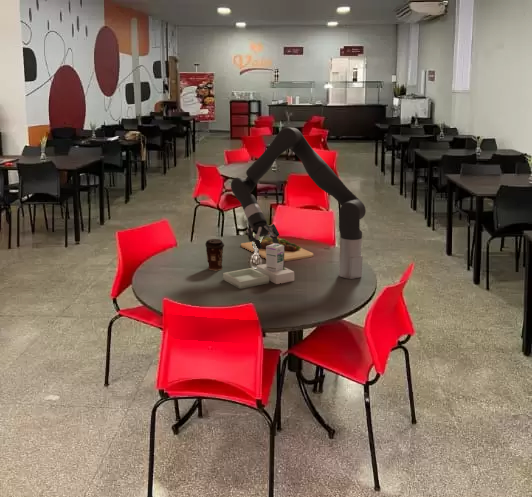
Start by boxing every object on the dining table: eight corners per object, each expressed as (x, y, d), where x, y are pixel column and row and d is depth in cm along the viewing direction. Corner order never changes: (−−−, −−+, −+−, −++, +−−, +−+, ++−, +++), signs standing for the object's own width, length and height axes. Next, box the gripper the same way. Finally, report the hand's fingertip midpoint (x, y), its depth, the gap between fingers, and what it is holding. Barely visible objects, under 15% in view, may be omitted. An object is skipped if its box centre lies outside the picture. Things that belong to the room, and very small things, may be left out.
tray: (268, 283, 273) (268, 276, 272) (240, 288, 265) (239, 281, 264) (251, 274, 284) (251, 267, 283) (223, 279, 277) (223, 273, 276)
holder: (294, 280, 276) (294, 271, 275) (276, 284, 271) (276, 275, 270) (273, 271, 289) (273, 262, 288) (256, 274, 284) (256, 265, 283)
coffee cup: (201, 269, 290) (201, 241, 287) (211, 264, 297) (211, 237, 294) (218, 272, 286) (217, 244, 283) (228, 267, 294) (227, 239, 290)
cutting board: (238, 246, 330) (238, 232, 328) (278, 241, 341) (278, 227, 339) (273, 264, 301) (273, 249, 299) (315, 257, 312) (316, 242, 310)
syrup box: (276, 280, 276) (277, 247, 272) (265, 277, 280) (265, 245, 276) (284, 277, 280) (285, 244, 277) (273, 274, 284) (273, 242, 280)
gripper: (244, 213, 281) (258, 244, 274) (271, 209, 288) (286, 240, 282) (238, 222, 286) (251, 253, 280) (265, 219, 294) (279, 249, 287)
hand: (268, 247), depth 281 cm, fingers open, 8 cm apart
